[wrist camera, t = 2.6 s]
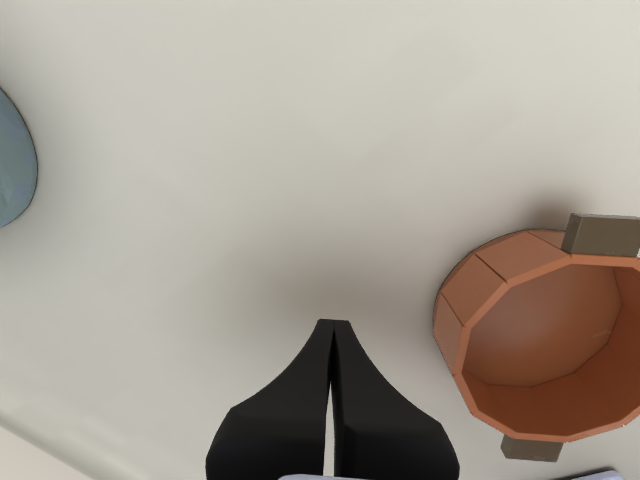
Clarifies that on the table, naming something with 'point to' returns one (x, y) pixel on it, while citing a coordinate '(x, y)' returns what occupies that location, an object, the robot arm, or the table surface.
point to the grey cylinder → (15, 163)
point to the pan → (547, 332)
